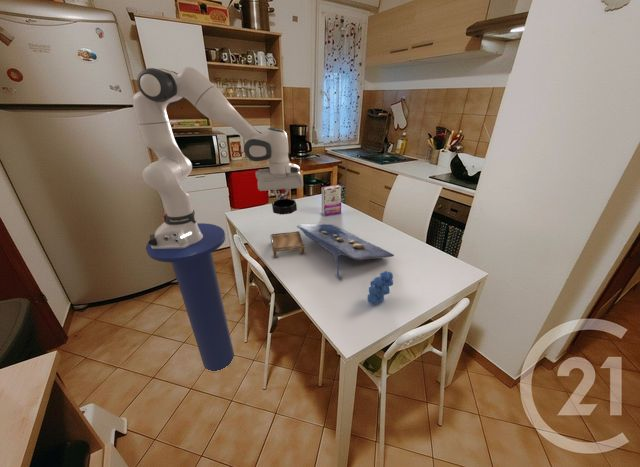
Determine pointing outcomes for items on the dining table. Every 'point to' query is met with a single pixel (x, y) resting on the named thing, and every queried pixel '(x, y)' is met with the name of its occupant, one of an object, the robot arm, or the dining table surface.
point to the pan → (284, 206)
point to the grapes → (380, 287)
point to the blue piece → (342, 243)
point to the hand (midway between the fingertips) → (281, 198)
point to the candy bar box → (331, 200)
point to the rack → (286, 242)
